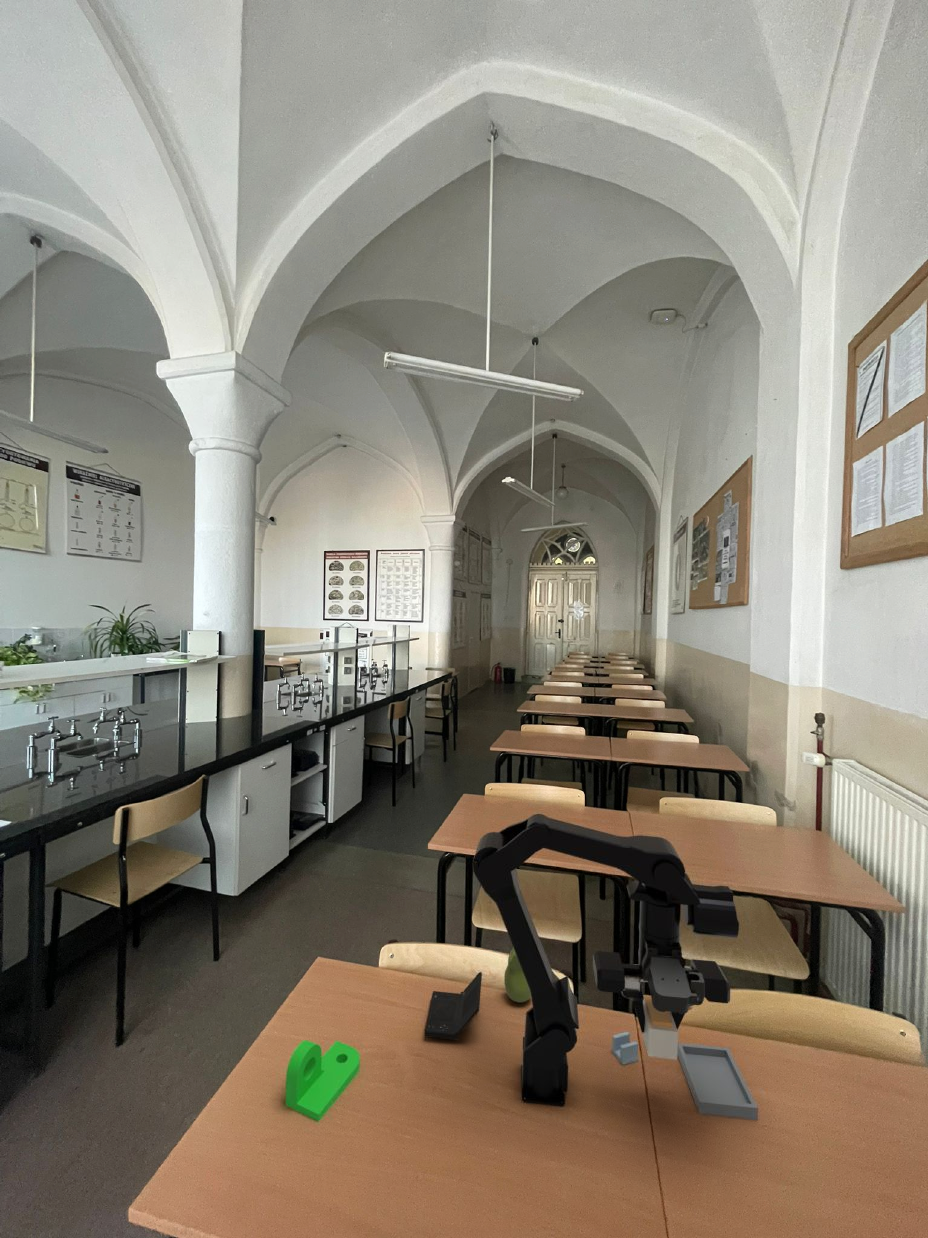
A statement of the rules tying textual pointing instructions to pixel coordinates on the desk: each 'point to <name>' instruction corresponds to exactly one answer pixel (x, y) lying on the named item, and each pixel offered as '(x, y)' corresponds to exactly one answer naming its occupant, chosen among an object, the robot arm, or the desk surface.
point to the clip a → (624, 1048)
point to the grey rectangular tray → (716, 1082)
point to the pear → (516, 980)
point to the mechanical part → (319, 1077)
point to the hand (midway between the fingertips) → (657, 1032)
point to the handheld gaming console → (453, 1011)
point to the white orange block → (659, 1032)
